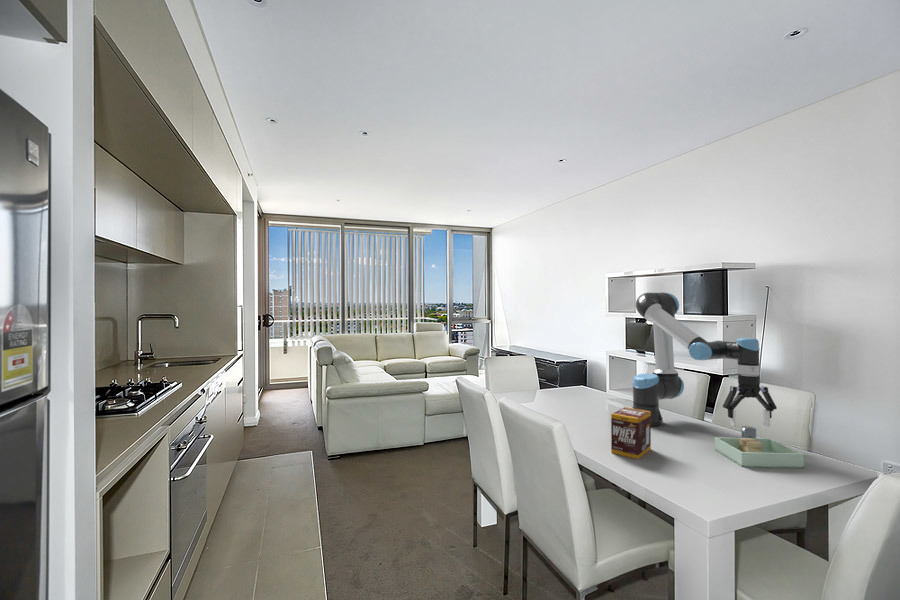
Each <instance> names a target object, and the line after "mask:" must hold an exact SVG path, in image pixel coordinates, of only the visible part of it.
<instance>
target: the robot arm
mask: <svg viewBox="0 0 900 600" xmlns="http://www.w3.org/2000/svg"><path fill="white" fill-rule="evenodd" d="M635 309H636V311H637V312H638V314H639V315H640V316H641V317H642V318H643V319H644V320H646V321H651V322H652V327H653V344H654V362H655V363H654V364H655V365H654V366H655V368H654V370H652V373H640V374H637V375H634V377H633V378H632V379H633V381H632V407H631V408H634V409H639V410H645V411H650V412H651V427H659V426H662V425H664V419H663V415H662V413H661V411H660V406H659V405H660V404H659V403H660V401H661V400H673V399H675V398H679V397H680V396H681V395H682V394H683V393H684V390H685V384H684V383H685V382H684V381H683V379H682V377H680V376H679V372H678V371H677V369H675V360H674V359H675V358H674V357H675V356H674V342H673V340H676V341H677V342H678V343H679V344H680V345H682V346H683V347H685V348H686V349H687V350H688V353H689V356H690V357H691V359H693V360H696V361H709V360H719V359H720V360H721V359H725V360H727V359H729V360H737V373H738V375H737V383H738V386H733V385H731V386H730V387H729V392H728V394H727V396H726V398H725V401H724V402H723V404H722V408H724V409H726V410H727V417H728V418H729V425H730V426H732V427H737V426H736V425H737V420H736V419H737V417H736V416H737V415H736V410H735V409H736V407H737V406H738V405H739V404H740V403H741V402H742V401H743V400H745V398H747V399H748V398H755V399H756V400H757V401H758V403H760V405H762V407H763V408H764V409H763V413H762V414H763V426H764V427H769V428H770V427H771V419H772V415H773V414H772V412H774V410H777V405H776V403H775V401H774V400H773V398H772V395H771V394H770V392H769V387H767V386H763V385H761V377H760V373H761V371H760V343H759V339H757V338H754V337H739V338H737V339H736V341H725V340H724V341H723V340H712V341H707V340H706V339H705V338H703V337H702V336H700V335H698V334H697V332H694V331H693V330H692V329H691V328H688V326H686V325H685V324H684V323H682V322H681V321H680V320H678V319H677V318H676V316H675V315H676V314H677V313H678V311H679V310H680V301H679V300H678V298H677V297H676V296H675V295H674V294H672V293H669V292H644V293H641V294H640V295H639V296H638V297H637V299H636V301H635ZM760 385H761V386H760ZM760 392H761V393H762V395H761V393H760ZM762 396H763V397H764V398H763V397H762Z"/></svg>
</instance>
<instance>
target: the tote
mask: <svg viewBox="0 0 900 600" xmlns="http://www.w3.org/2000/svg"><path fill="white" fill-rule="evenodd" d="M740 438H741V437H721V436H719V437H717V436H716V437H714V451H716V452H718V453H720V454H721V455H723V456H724V457H726V458H728V459H729V460H730V461H732V462H734V464H735V463H736V464H737V465H738V466H739V467H743V468H745V467H746V468H751V467H752V468H781V469H783V468H784V469H785V468H787V469H804V467H805V466H804V465H805V463H804V462H805V461H804V460H805V459H804V458H805V457H804V456H805V454H804V453H802V452H800V451H797V450H795V449H793V448H791V447H790V446H787V445H785V444H783V443H781V442H778V441H776V440H774V439H772V438H768V437H767V438H764V437H762V438H761V437H759V438H758V437H756V438H744V439H755V440H757V441H759V442H761V444H762V453H757V452H741V451H740Z"/></svg>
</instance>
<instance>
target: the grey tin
mask: <svg viewBox="0 0 900 600" xmlns="http://www.w3.org/2000/svg"><path fill="white" fill-rule="evenodd" d="M741 438H757V428H756V427H753V426H747V425H742V426H741Z"/></svg>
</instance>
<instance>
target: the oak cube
mask: <svg viewBox="0 0 900 600" xmlns="http://www.w3.org/2000/svg"><path fill="white" fill-rule="evenodd" d="M739 438H740V451H741V452H757V453H762V444H761V442H759V441H757V440H755V439H744V438H742V437H739Z"/></svg>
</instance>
